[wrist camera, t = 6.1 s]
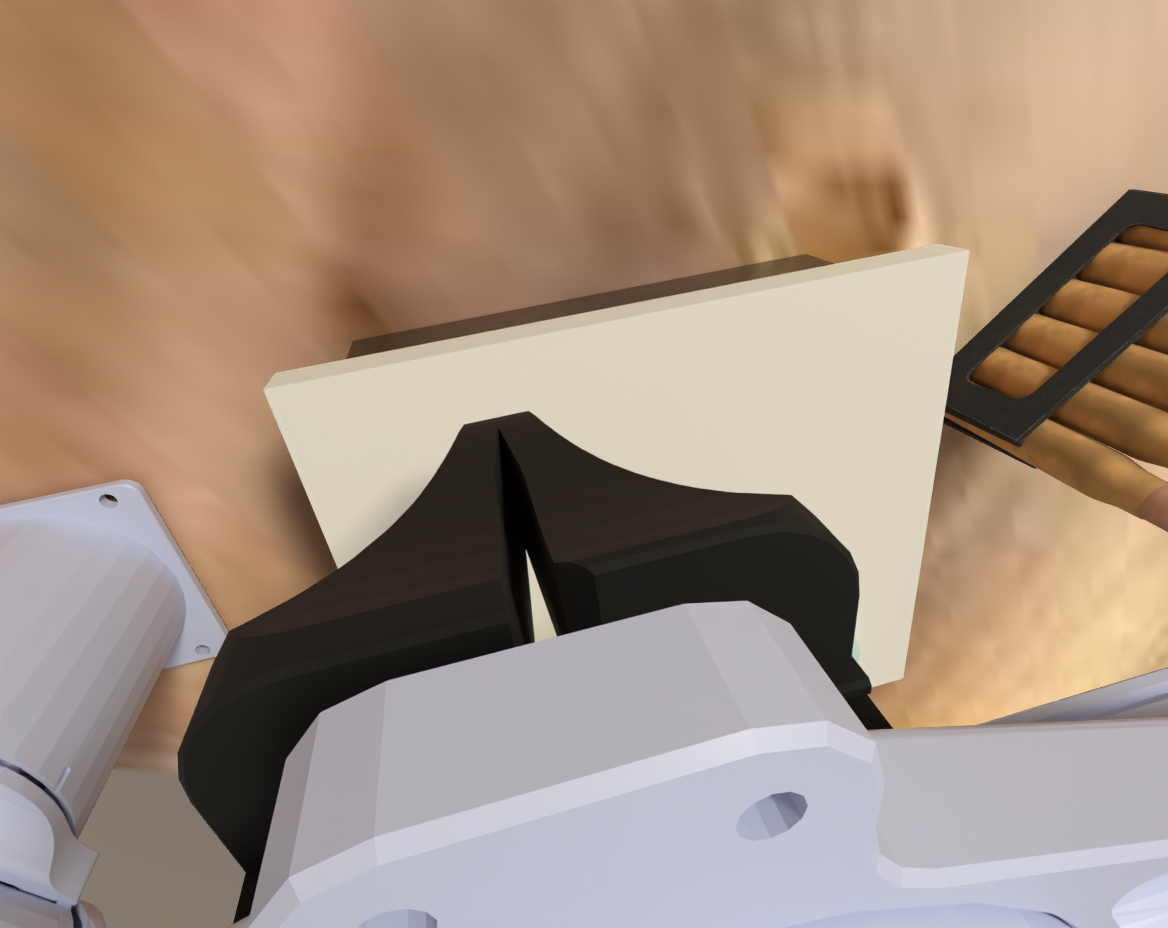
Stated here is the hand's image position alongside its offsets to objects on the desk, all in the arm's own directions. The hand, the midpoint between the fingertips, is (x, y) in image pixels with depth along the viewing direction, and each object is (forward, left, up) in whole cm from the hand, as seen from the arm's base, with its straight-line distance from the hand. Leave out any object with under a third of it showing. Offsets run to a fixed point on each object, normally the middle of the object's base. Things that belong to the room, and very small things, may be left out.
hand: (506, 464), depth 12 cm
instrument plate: (+4, -7, -5) cm, 9 cm away
